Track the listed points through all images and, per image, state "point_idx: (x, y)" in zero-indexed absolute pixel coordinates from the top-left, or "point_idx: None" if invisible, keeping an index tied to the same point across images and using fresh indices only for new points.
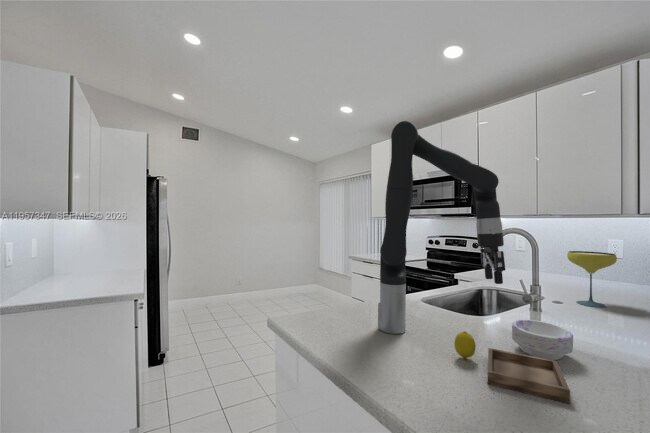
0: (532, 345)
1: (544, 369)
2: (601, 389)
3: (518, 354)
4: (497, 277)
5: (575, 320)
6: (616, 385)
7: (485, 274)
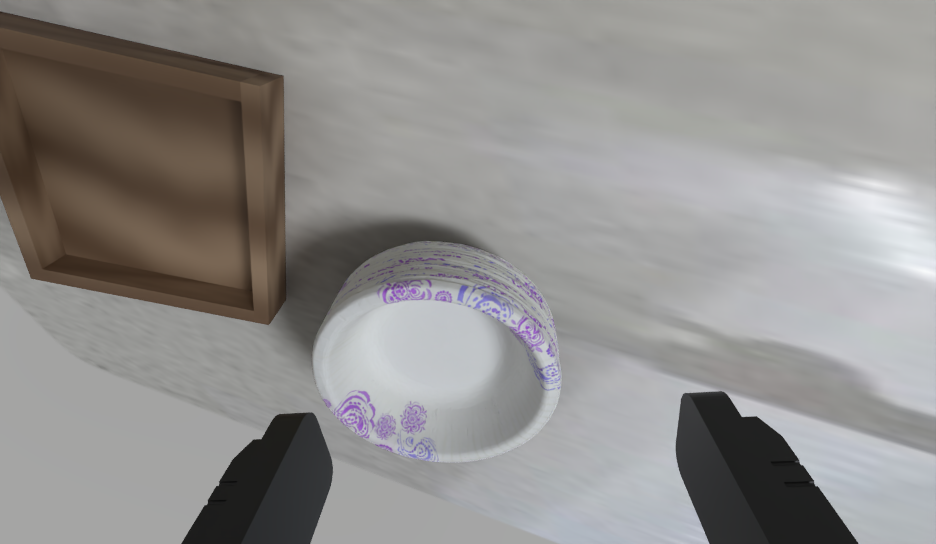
0: (337, 294)
1: (245, 268)
2: (230, 363)
3: (252, 212)
4: (202, 510)
5: (857, 529)
6: (281, 403)
7: (723, 445)
